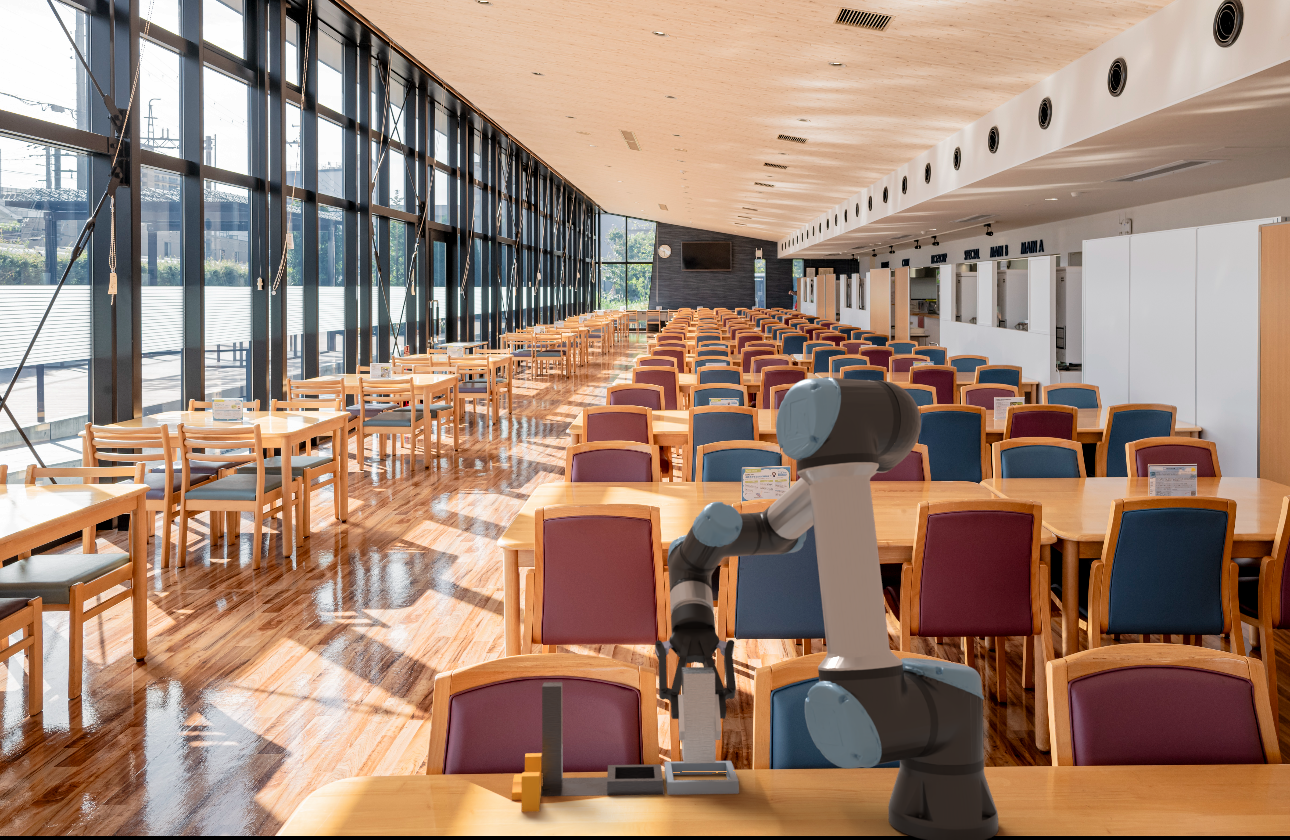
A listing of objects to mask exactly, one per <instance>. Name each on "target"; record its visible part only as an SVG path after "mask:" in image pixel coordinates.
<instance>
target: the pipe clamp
mask: <svg viewBox="0 0 1290 840" xmlns="http://www.w3.org/2000/svg"><path fill="white" fill-rule="evenodd" d="M524 755H525V756H524V771H523V772H522V773H518V774H517V773H515V774H514V775H513V780H512V789H511V800H512V801H517V800H520V801H521V813H529V812H532V813H533V812H540V807H541V806H540V805H541V798H542V796H541V793H542V752H536V753H535V752H532V753H525V754H524Z"/></svg>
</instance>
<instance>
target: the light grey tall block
mask: <svg viewBox="0 0 1290 840" xmlns="http://www.w3.org/2000/svg"><path fill="white" fill-rule="evenodd" d="M681 695H683V709H684V726H685V735H684V740H681V755H682V760H683V761H684V763H716V761H717V759H716V758H717V757H716V756H717V755H716V748H717V747H716V746H717V745H716V742H717V740H716V738H715V672H714V670H713V668H712V667H704V666H701V667H699V666H696V667H695V666H694V667H693V666H692V667H690V666H688V667H687V666H686V667H682V685H681Z"/></svg>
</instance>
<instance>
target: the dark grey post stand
mask: <svg viewBox="0 0 1290 840" xmlns="http://www.w3.org/2000/svg"><path fill="white" fill-rule="evenodd" d="M541 700H542V702H541V705H542V706H541V707H542V709H541V710H542V711H541V714H542V715H541V717H542V718H541V723H542V724H541V725H542V726H541V727H542V728H541V729H542V731H541V735H542V736H541V737H542V739H541V743H542V744H541V746H542V748H541V749H542V750H541V753H542V787H541V797H587V796H588V797H589V796H590V797H593V796H595V797H596V796H602V797H603V796H652V795H653V796H655V795H656V796H657V795H658V796H660V795H665V789H664V788H665V787H664V778H663V771H662V770H663V769H662V764H656V763H655V764H608V765H607V776H606V777H604V776H603V777H600V776H599V777H598V776H596V777H592V776H591V777H563V776H564V772H563V771H564V769H563V767H564V765H563V763H564V762H563V759H564V755H563V753H564V752H563V750H564V747H563V745H564V744H563V743H564V742H563V737H564V736H563V734H564V733H563V721H564V720H563V718H564V717H563V716H564V715H563V682H562V681H560V682H556V681H555V682H551V681H549V682H543V684H542V685H541Z"/></svg>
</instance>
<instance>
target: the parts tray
mask: <svg viewBox="0 0 1290 840" xmlns="http://www.w3.org/2000/svg"><path fill="white" fill-rule="evenodd" d="M733 770H735V767H734V765H733V763H732V760H716V763H684V761H664V778H665V779H664V780H665V786H666V791H667V795H669V796H670V795H723V794H725V795H727V794H728V795H730V794H736V795H738V794H740V785H739V784H740V783H739V782H740V781H739V777H738V776H737V774H736V771H733ZM682 771H727V772H718V773H726V774H725V776H726V779H677V780H676V779H674V775H675V776H676V775H677V776H681V775H682V776H684V775H686V776H688V775H713V774H712V773H716V772H682ZM673 772H680V773H673Z"/></svg>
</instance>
